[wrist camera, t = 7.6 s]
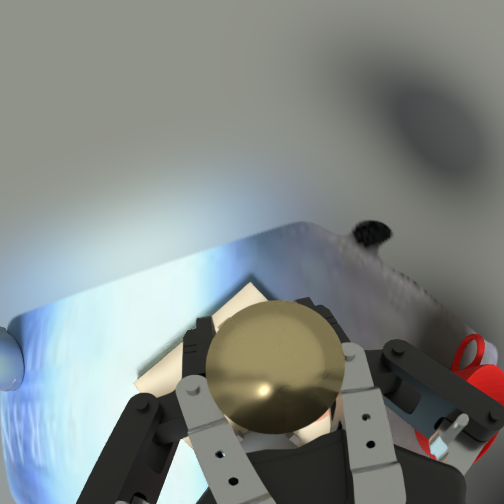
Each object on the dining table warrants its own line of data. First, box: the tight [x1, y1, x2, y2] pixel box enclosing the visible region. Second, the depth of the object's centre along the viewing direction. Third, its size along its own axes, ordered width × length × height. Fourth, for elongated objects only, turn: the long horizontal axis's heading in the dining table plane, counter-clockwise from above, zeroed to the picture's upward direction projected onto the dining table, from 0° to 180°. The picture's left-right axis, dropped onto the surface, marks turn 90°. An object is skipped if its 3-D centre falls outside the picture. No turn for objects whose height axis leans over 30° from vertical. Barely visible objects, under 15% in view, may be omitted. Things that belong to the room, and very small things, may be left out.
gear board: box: [133, 282, 330, 453], centre depth 25 cm, size 22×18×5 cm
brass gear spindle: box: [206, 300, 345, 434], centre depth 12 cm, size 6×6×10 cm
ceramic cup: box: [415, 334, 504, 464], centre depth 22 cm, size 13×17×10 cm
